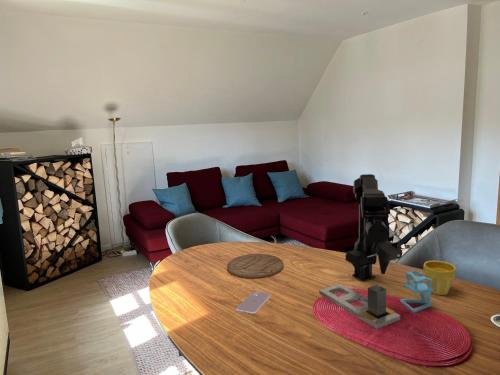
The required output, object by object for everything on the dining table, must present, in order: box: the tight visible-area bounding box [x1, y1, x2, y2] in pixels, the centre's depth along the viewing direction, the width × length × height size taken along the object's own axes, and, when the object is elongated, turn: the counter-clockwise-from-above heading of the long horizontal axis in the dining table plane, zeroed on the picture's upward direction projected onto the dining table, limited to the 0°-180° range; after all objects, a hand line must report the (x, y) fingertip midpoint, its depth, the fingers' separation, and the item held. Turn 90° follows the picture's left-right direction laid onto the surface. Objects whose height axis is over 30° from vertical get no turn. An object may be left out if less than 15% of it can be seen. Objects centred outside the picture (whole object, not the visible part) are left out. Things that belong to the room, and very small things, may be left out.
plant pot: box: [422, 260, 457, 296], centre depth 137 cm, size 10×10×10 cm
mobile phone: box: [235, 290, 271, 315], centre depth 136 cm, size 8×1×15 cm
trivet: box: [226, 253, 284, 280], centre depth 168 cm, size 25×25×2 cm
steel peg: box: [367, 284, 387, 319], centre depth 121 cm, size 4×4×10 cm
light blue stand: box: [400, 270, 433, 313], centre depth 127 cm, size 8×8×12 cm
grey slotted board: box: [318, 283, 401, 330], centre depth 130 cm, size 10×28×2 cm, turn 28°
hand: (372, 277), depth 123 cm, fingers open, 9 cm apart
